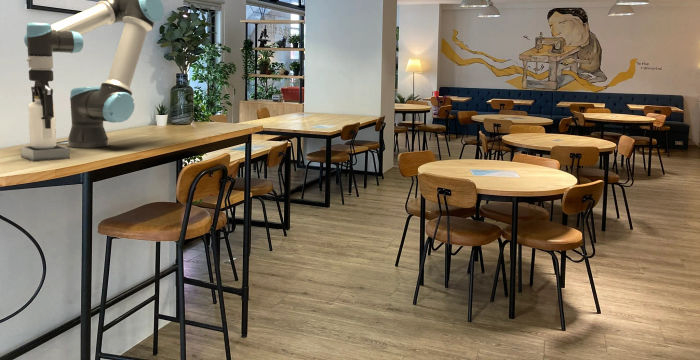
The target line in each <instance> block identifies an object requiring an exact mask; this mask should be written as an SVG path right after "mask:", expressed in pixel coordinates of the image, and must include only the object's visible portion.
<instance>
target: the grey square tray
mask: <svg viewBox="0 0 700 360" xmlns="http://www.w3.org/2000/svg"><path fill="white" fill-rule="evenodd" d="M20 156H21V157H22V158H24V159H26V160H29V161H32V162H44V161H56V160H67V159H70V158H71V157H70V156H71V155H70V148H69V147H65V146H62V145H59V144H56V146H55V147H54V148H50V149H36V148H32V147H31V146H30V145H27V146H20Z"/></svg>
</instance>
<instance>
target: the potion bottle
mask: <svg viewBox="0 0 700 360" xmlns="http://www.w3.org/2000/svg"><path fill="white" fill-rule="evenodd" d="M34 100H35V102H33V103H32V102H31V103H29V104H28V107H27V109H28V126H29V142H30V143H29V144H30V145H29V146H31V147H32V148H36V149H50V148H54V147H55V146H56V145H57V129H56V106H55V105H54V104H53V111H54V117H53V118H52V119H51V128H52V138H43V122H42V119H41V118H42V117H43V110H42V105H41V100H40V99H39V96H35V98H34Z"/></svg>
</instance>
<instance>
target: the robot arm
mask: <svg viewBox="0 0 700 360" xmlns="http://www.w3.org/2000/svg"><path fill="white" fill-rule="evenodd" d="M164 12H165V9H164V4H163V1H162V0H99V1H98V2H96V5H94V6H92V7H89V8H88V9H85V10H83V11H81V12H78V13H76V14H73V15H71V16H68V17H66V18H64V19H61V20H58V21H57V22H54V23H52V24H50V23H46V22H44V23H43V22H29V23H27V24H26V33H25V35H24V37H23V40H24V44H25V46H26V48H27V59H26V61H27V63H28V64H27V65H28V68H29V70H28V79H29V81H30V82H31V81H32V82H34V86H31V87H30V88H31V96H32V97H31V99H32V102H31V103H33V102H35V100H34V98H35V96H39V99H40V100H41V105H42V110H43V117H42V118H41V119H42V122H43V138H52V128H51V119H52V118H53V117H54V111H53V105H54V97H53V93H54V89H53V88H51V87H50V85H49V82H53V81H54V71H53V69H54V61H53V59H54V58H53V53H70V54H73V53H74V54H75V53H77V54H78V53H80V52H81V51H82V50H83V49H84V48H83V47H84V38H83V36H82V35H84V34H87V33H89V32H90V31H94V30H96V29H99V27H102V26H105V25H108V26H110V25H113V24H116V23H118V22H121V23H122V22H123V23H124V26H123V30H122V33H121V36H120V40H119V42H118V46H117V49H116V52H115V55H114V57H113V62H112V64H111V67H110V70H109V73H108V77H107V79H106V80H105V81H102V82H101V84H100V86H83V87H82V86H81V87H76V88H75V87H74V88H72V89H71V90H70V97H69V100H70V102H69V103H70V116H71V127H70V132H69V134H68V138H67V146H68V147H70V148H78V149H79V148H81V149H84V148H85V149H90V148H91V149H93V148H94V149H95V148H102V147H103V148H105V147H108V146H109V144H110V143H109V138H108V135H107V132H106V130H105V126H104V122H108V123H111V124H115V123H123V122H125V121H127V120H129V119H130V118H131V117H132V115H133V113H134V112H135V111H134V110H135V103H134V98H133V97H132V95H133V91H132V90H131V84H132V81H133V78H134V75H135V72H136V69H137V65H138V62H139V59H140V56H141V53H142V49H143V46H144V43H145V40H146V37H147V33H148V32H151V31H152V30H153V29H154V25H155V23H158V22H159V21H161V20H162V18H163V17H164Z"/></svg>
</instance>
